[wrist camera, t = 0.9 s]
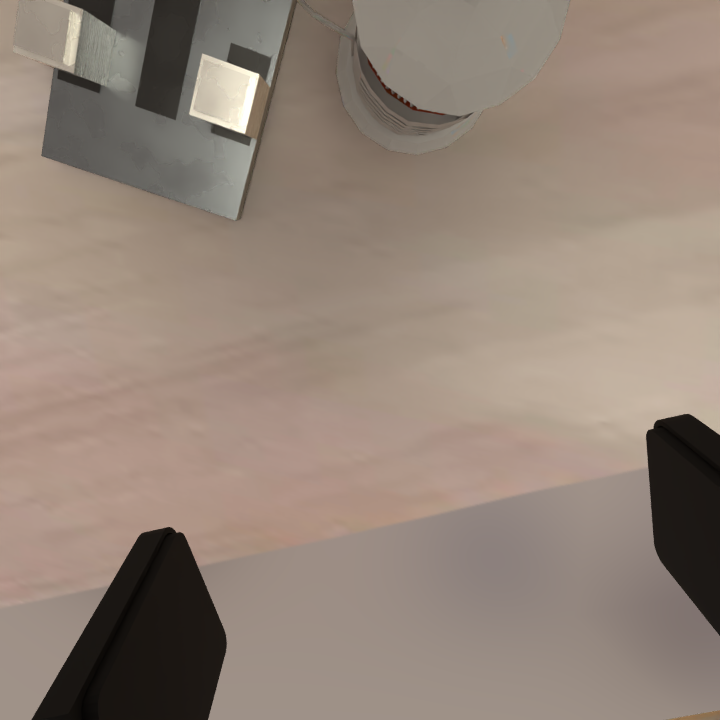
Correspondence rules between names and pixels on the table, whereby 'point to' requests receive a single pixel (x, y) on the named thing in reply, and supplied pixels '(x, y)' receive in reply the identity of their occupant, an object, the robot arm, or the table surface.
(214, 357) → the table surface
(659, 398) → the table surface
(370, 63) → the french press
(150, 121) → the panel
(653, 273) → the table surface
